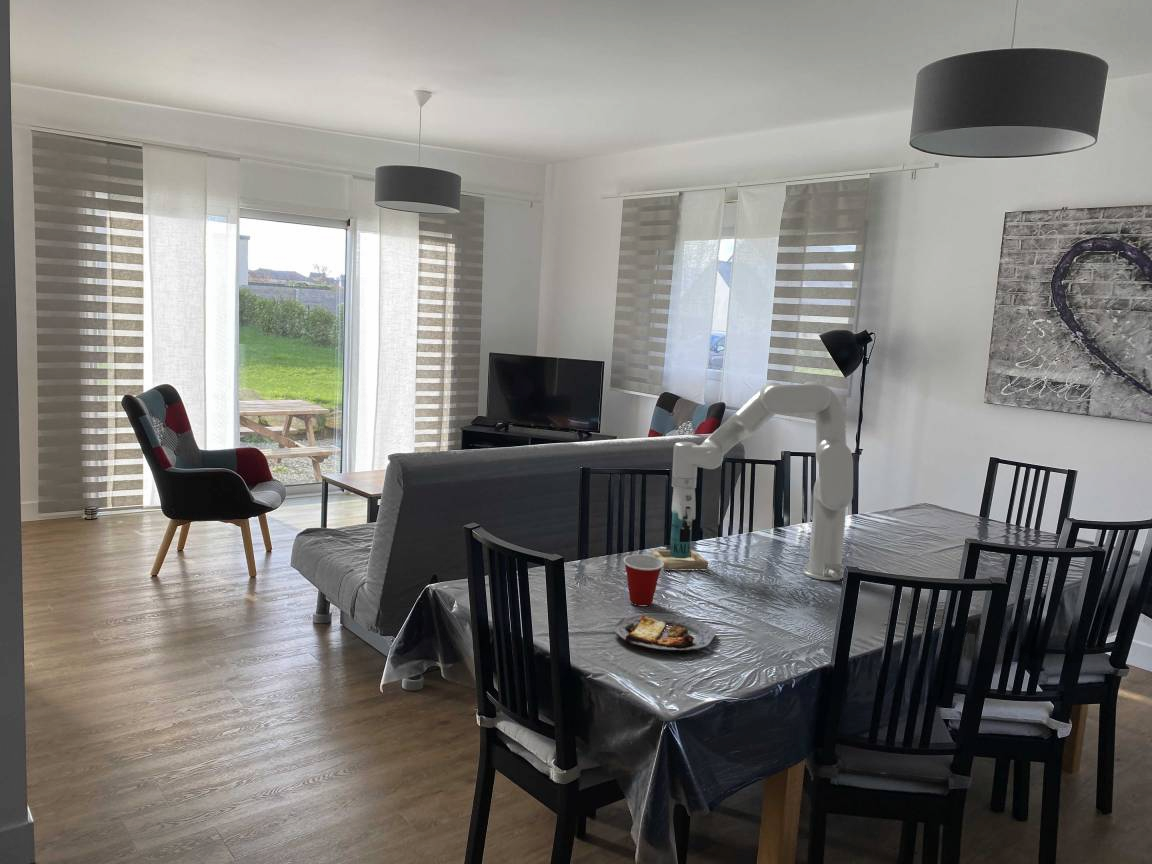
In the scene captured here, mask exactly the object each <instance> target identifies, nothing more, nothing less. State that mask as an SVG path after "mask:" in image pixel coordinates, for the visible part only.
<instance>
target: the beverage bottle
mask: <svg viewBox="0 0 1152 864" xmlns="http://www.w3.org/2000/svg"><path fill="white" fill-rule="evenodd" d="M671 513H672V517H671V526H670V527H671V528H670V529H671V530H670V531H671V532H670V541H669V543H670V544H669V546H670V547H669V550H670V556H671V557H674V558H689V556H690V550H692V549H691V546H692V545H691V544H692V538H693V537H692V535H693V534H692V529H691V530H690V541H689V542H680V541H679V540H680V529H681V520H680V519H679V518H678V513H677V511H676V510H675V509H674V510H673V512H672V511H671ZM683 519H687V518H686V517H683ZM685 522H686V521H684V523H685ZM692 525H693V522H692V523H691V528H692V527H693V526H692Z"/></svg>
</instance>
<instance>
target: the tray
mask: <svg viewBox="0 0 1152 864" xmlns="http://www.w3.org/2000/svg"><path fill="white" fill-rule="evenodd" d="M650 551H651V553H650V554H651V555H652V556H653V557H656V558H659V559H660V560H662V561H663V563H664V565H663V568H664V569H708V568H709V562H708V561H707V560H706V559H705V558H704V557H703V556H702V555H700V554H699V553H698V552H697V551H695V550H694V549H691V550H690V556H689V558H674V557H671V556H670V549H652V550H650ZM651 555H650V556H651ZM708 570H709V569H708Z"/></svg>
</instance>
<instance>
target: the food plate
mask: <svg viewBox="0 0 1152 864" xmlns="http://www.w3.org/2000/svg"><path fill="white" fill-rule="evenodd" d="M666 625H668V626H666ZM670 626H672V627H670ZM666 627H669V629H667V628H666ZM664 629H666V630H667V631H668V633H667V632H666V630H665V631H664ZM689 631H690V632H689ZM662 632H663V633H662ZM664 632H665V633H666V634H667V635H666V634H664ZM688 632H689V633H692V632H693V633H692V635H691V634H689V633H688ZM613 633H614V634H615V635H616V636H617V637H618V638H620V639H621V640H623V641H624V642H626V643H628V644H631V645H636V646H640V647H644V648H649V649H652V650H655V651H658V650H659V651H667V652H670V651H671V652H672V651H673V652H674V651H681V652H688V651H693V652H695V651H698V650H699V649H705V648H707V647H708V646H709V645H710V644H711V642H712V641H713V639H715V636H716V634H718V632H717V629H715V628H713V627H712V626H710V625H708V624H706V623H705V622H704V621H700V620H697V619H696V618H692V617H690V616H688V617H687V616H685V615H678V614H671V613H656V612H655V613H653V612H652V613H649V612H648V613H637V614H633V615H630V616H626V617H625V616H624V617H623V618H622V619H621V620H620V621H619V622H618V623H617V624H616V625H615V626H614V627H613Z"/></svg>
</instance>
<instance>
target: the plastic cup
mask: <svg viewBox="0 0 1152 864" xmlns="http://www.w3.org/2000/svg"><path fill="white" fill-rule="evenodd" d="M623 563H624V565H625V571H626V579H627V587H628V588H627V589H628V595H629V602H630V601H631V602H632V603H633V604H636V605H649V606H651V605H652V604H651V603H653V602H654V597H655V592H656V589H657V585H658V582H659V581H658V580H659V576H660V573H661V571H662V567H663V565H664V563H663V561H662V560H660V559H659V558H656V557H653V556H651V555H648V554H632V555H631V554H630V555H628V556H625V557H624V558H623ZM631 602H630V603H631ZM633 604H632V605H633ZM650 604H651V605H650Z"/></svg>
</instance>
